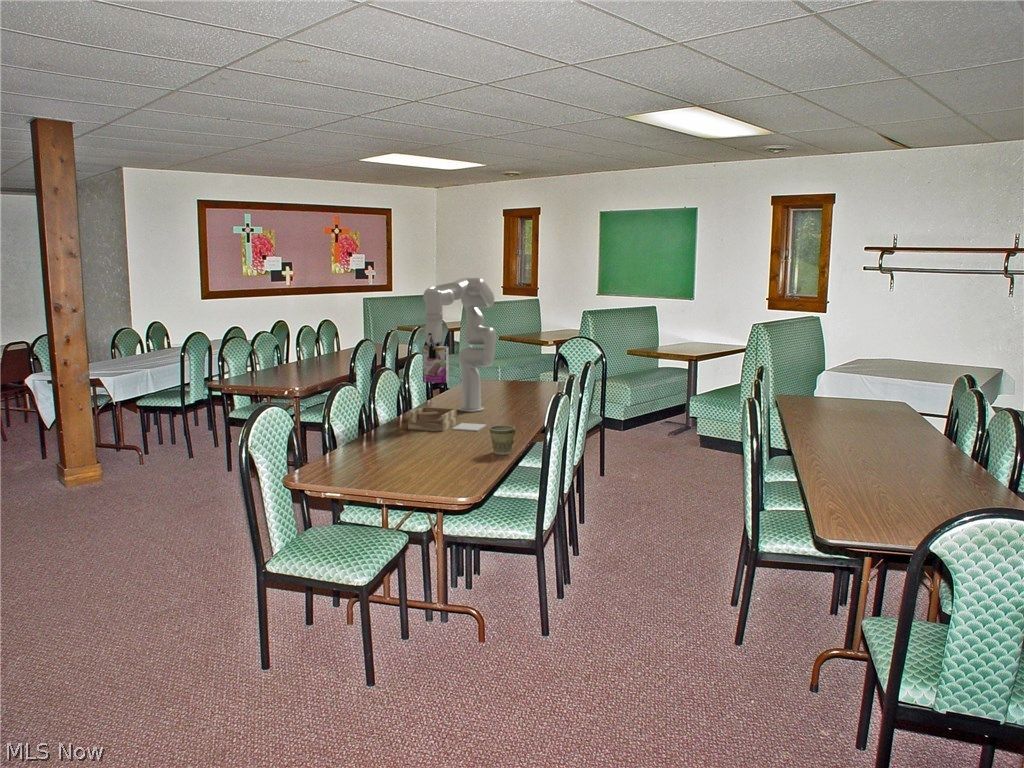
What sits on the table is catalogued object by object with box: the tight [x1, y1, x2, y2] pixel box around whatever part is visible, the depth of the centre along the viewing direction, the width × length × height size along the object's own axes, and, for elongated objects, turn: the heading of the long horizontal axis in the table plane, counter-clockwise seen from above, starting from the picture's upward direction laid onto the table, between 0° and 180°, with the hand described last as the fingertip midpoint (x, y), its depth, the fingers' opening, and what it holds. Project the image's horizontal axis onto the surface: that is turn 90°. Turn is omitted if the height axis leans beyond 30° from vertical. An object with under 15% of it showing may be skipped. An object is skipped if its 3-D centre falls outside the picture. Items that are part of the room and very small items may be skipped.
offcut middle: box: [416, 418, 441, 424], centre depth 338 cm, size 6×11×2 cm, turn 84°
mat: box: [451, 422, 487, 432], centre depth 338 cm, size 12×12×1 cm
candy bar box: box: [422, 345, 450, 384], centre depth 341 cm, size 11×5×16 cm, turn 80°
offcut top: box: [417, 412, 440, 420], centre depth 337 cm, size 5×9×2 cm, turn 113°
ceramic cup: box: [488, 424, 524, 456], centre depth 292 cm, size 13×10×10 cm
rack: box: [407, 406, 458, 432], centre depth 341 cm, size 17×17×7 cm
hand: (435, 357), depth 340 cm, fingers closed on candy bar box, 5 cm apart
